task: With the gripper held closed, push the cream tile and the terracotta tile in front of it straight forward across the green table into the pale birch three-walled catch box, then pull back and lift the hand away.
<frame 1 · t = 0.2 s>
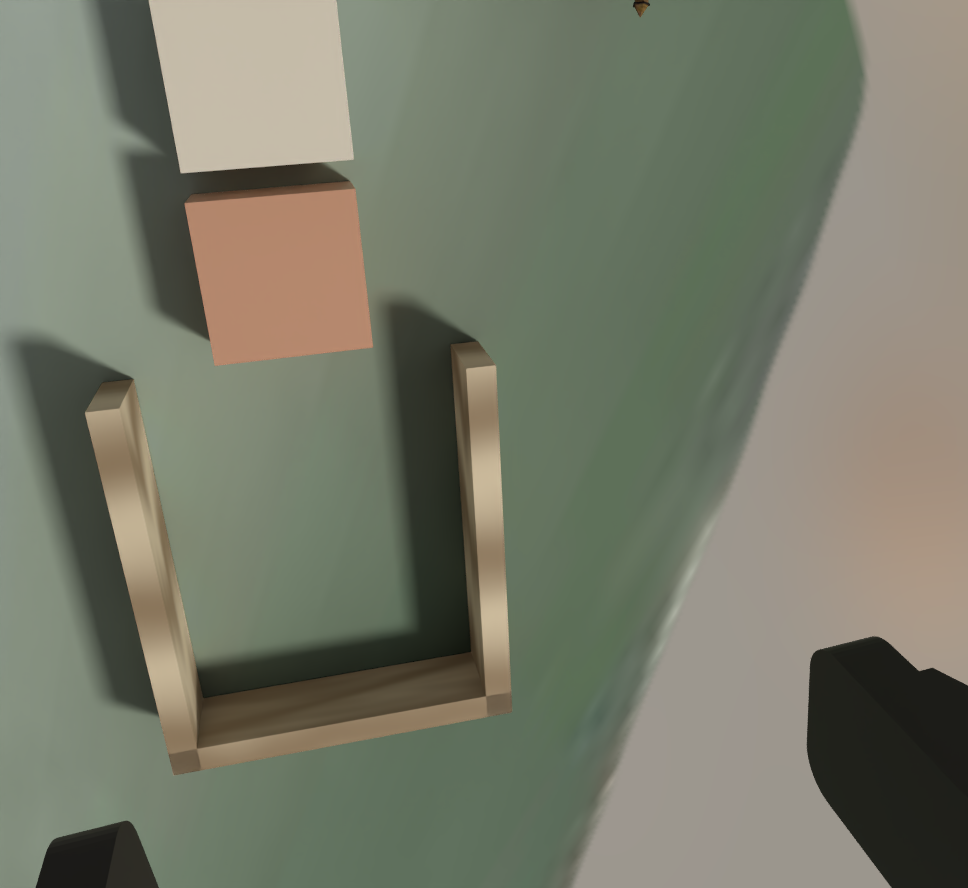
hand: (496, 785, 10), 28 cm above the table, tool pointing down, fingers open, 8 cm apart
cream tile: (257, 74, 33), on the table
catch box: (322, 541, 40), on the table
terracotta tile: (283, 263, 35), on the table
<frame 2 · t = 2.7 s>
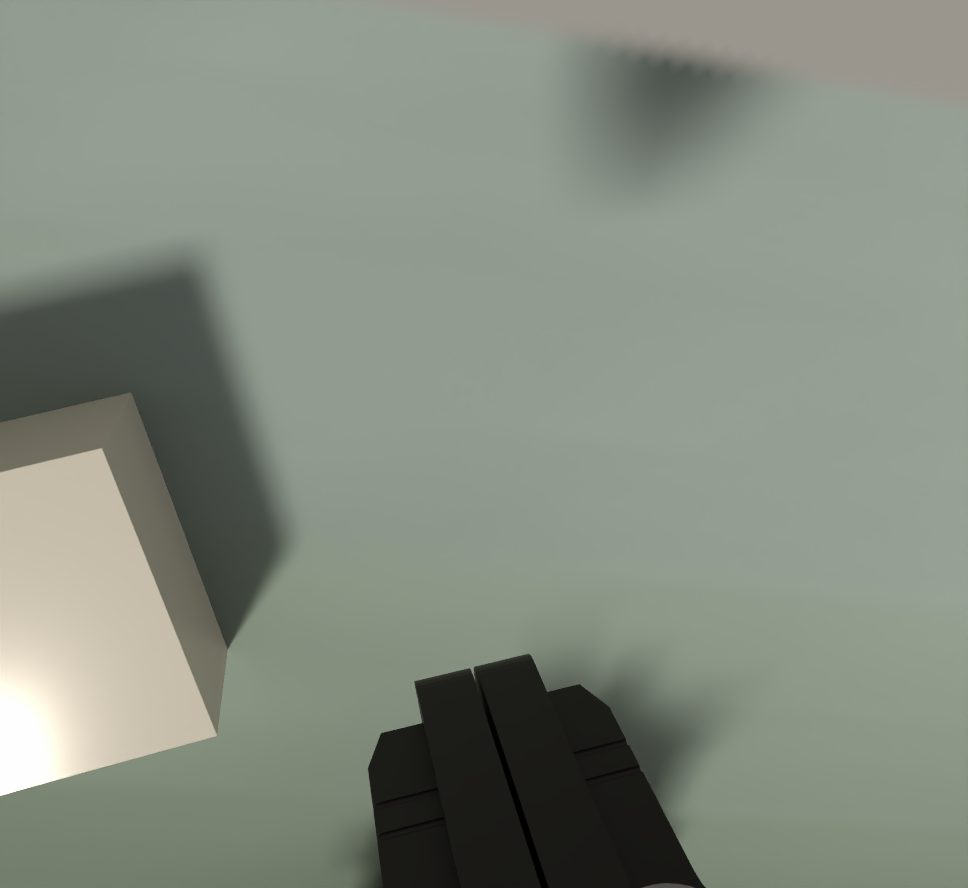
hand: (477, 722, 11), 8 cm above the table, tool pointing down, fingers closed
cream tile: (33, 560, 18), on the table
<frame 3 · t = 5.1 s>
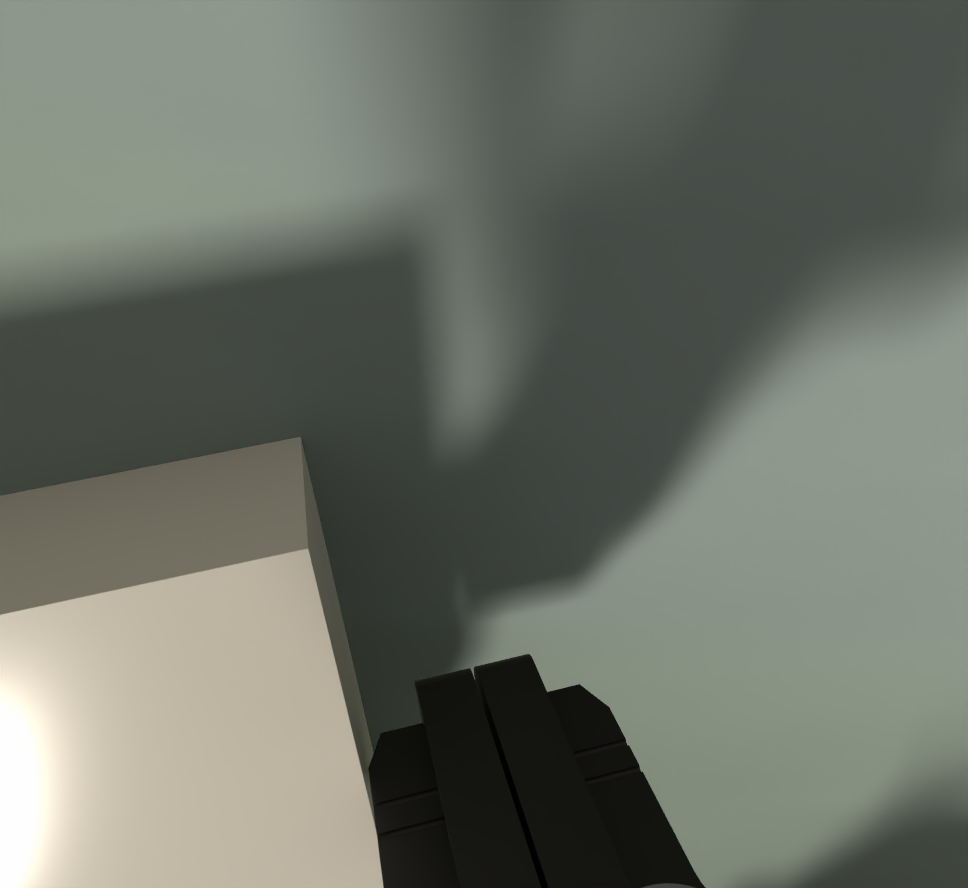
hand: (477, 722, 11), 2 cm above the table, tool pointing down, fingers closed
cream tile: (125, 675, 12), on the table, touching gripper, terracotta tile
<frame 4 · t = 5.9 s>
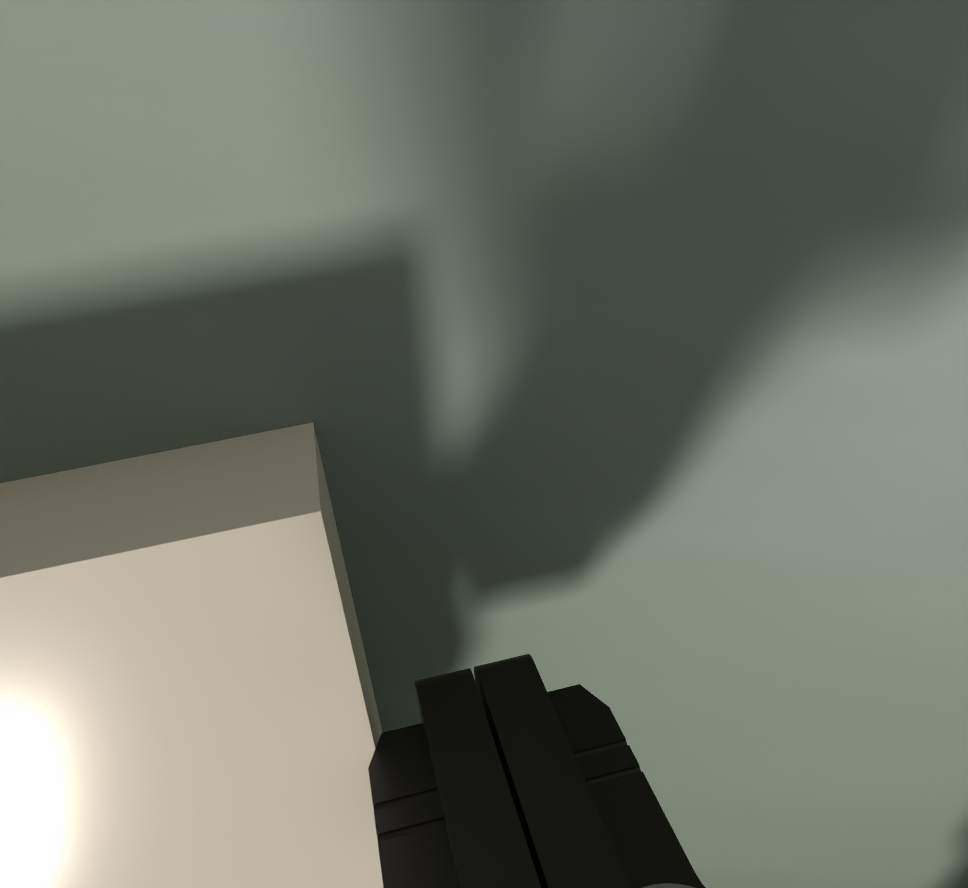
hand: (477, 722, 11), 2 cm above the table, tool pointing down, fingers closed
cream tile: (141, 647, 12), on the table, touching gripper
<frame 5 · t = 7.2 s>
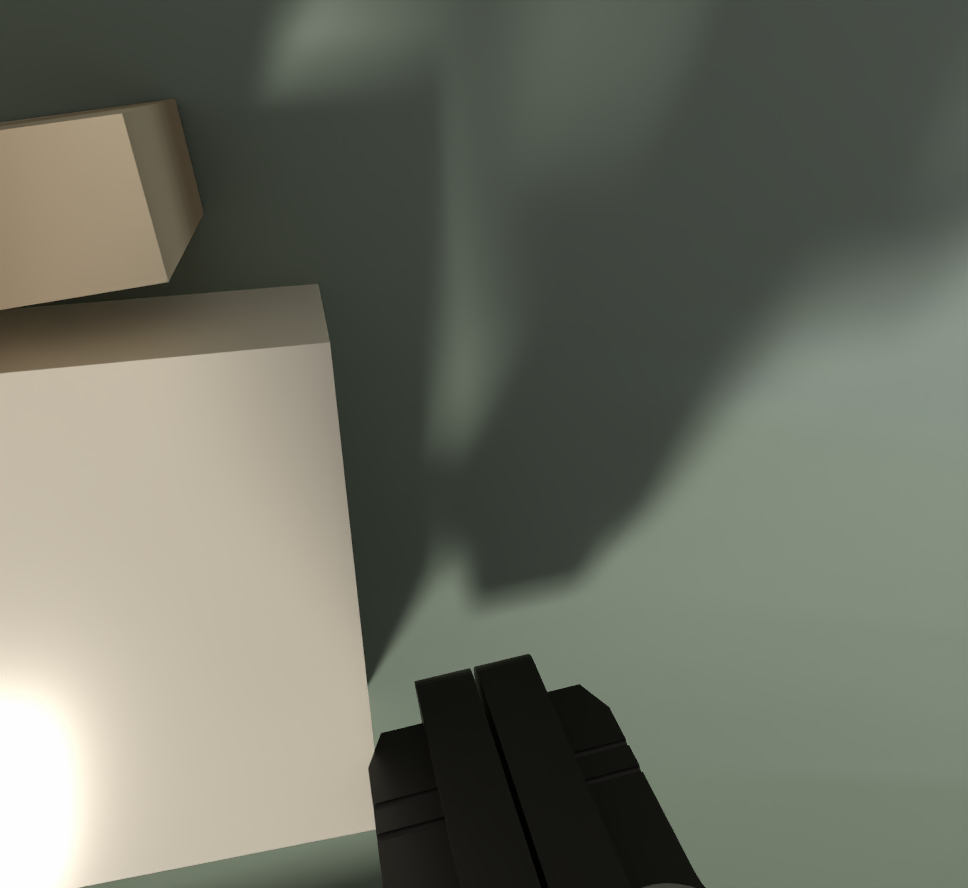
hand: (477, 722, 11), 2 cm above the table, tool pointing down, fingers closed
cream tile: (109, 523, 11), on the table, touching gripper
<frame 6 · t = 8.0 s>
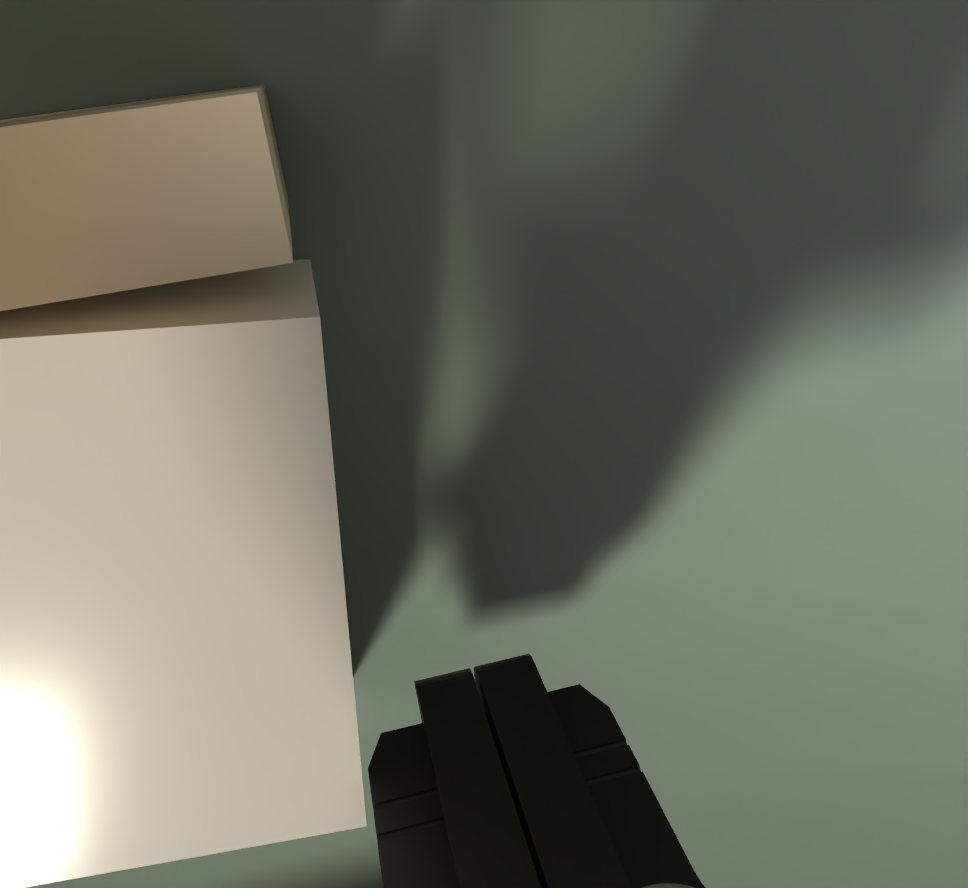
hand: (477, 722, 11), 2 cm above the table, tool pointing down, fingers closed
cream tile: (89, 506, 11), on the table
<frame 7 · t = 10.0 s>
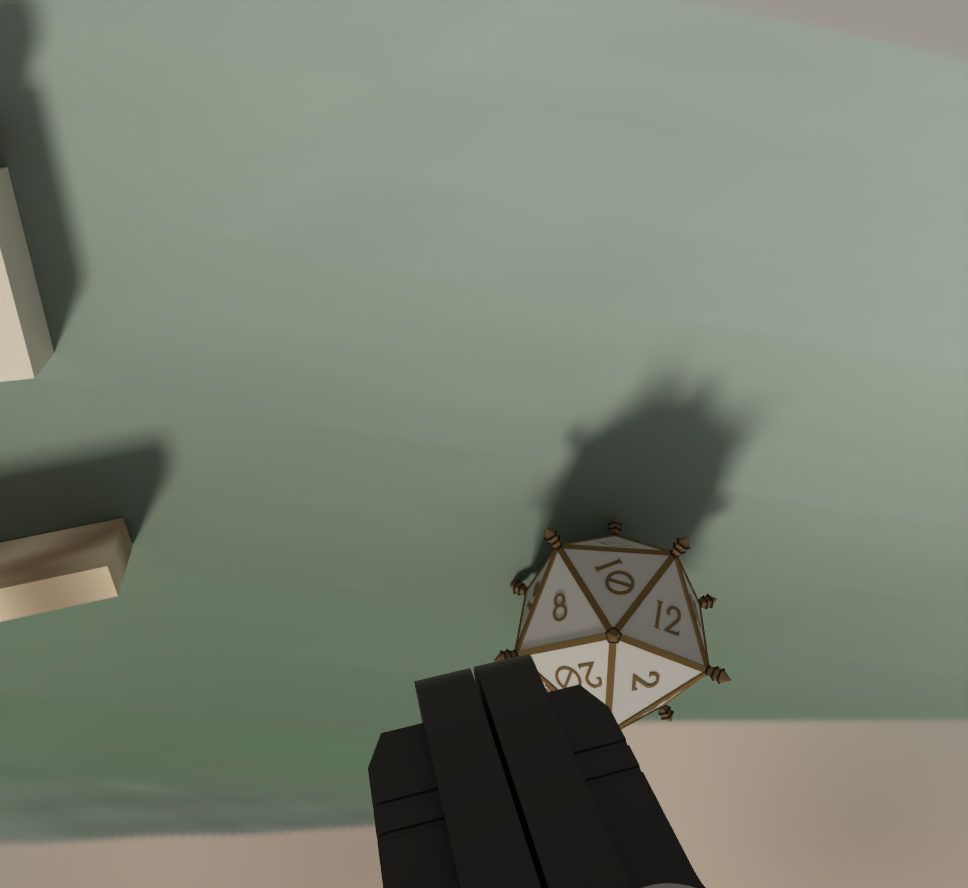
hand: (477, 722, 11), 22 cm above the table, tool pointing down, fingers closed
game die: (577, 572, 38), on the table
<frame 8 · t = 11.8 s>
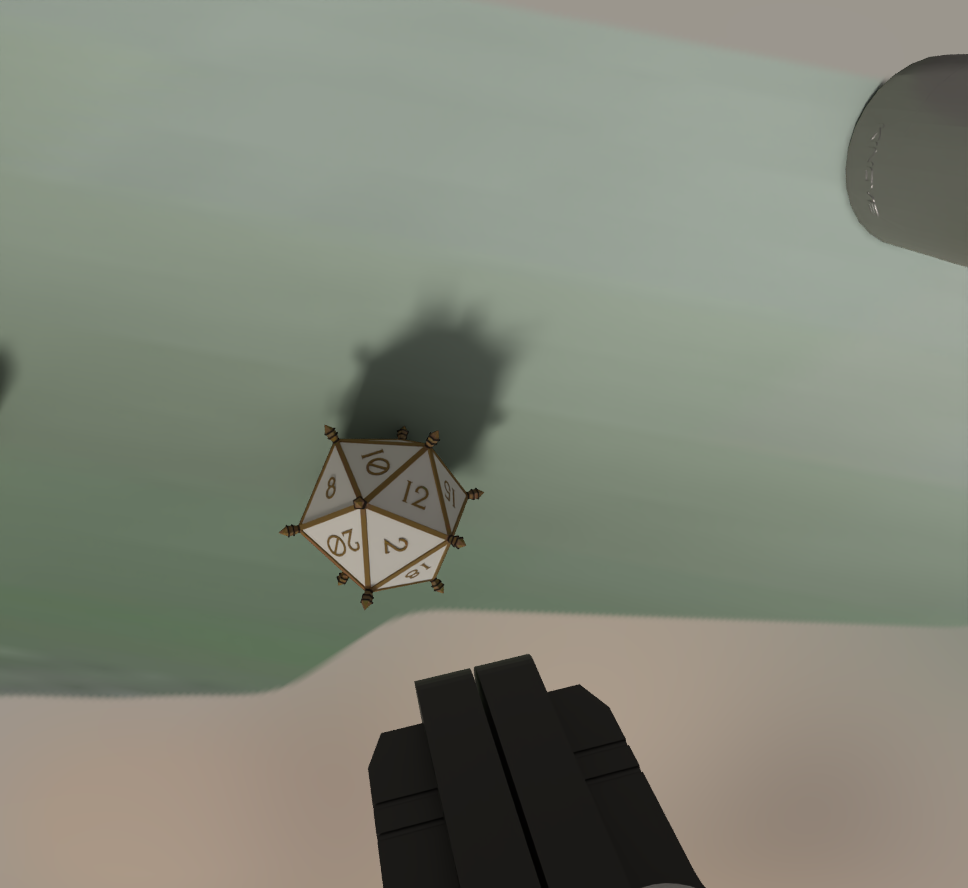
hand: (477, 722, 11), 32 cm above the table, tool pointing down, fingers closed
game die: (376, 474, 45), on the table
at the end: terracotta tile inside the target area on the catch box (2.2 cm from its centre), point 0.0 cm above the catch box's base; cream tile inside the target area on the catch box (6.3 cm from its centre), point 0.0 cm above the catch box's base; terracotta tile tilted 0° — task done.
